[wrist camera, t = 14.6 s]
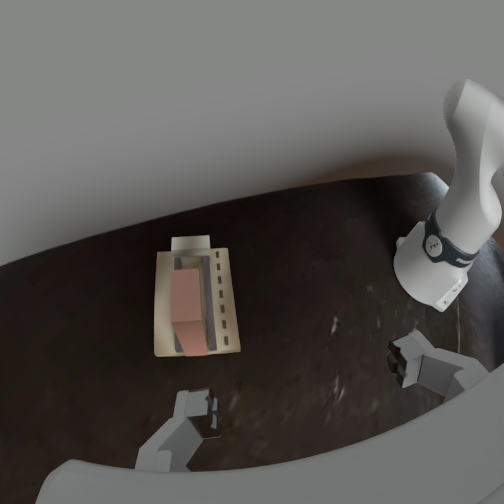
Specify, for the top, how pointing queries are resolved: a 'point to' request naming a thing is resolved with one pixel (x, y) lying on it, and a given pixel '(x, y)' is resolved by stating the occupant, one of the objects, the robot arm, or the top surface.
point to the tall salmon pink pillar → (188, 311)
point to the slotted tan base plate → (213, 294)
